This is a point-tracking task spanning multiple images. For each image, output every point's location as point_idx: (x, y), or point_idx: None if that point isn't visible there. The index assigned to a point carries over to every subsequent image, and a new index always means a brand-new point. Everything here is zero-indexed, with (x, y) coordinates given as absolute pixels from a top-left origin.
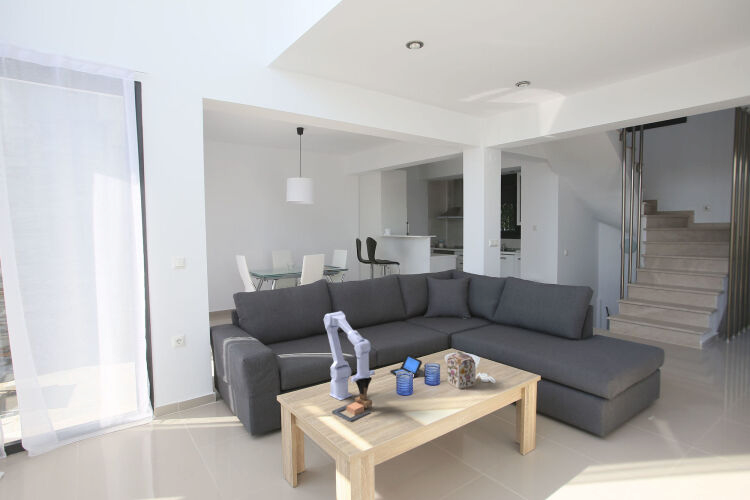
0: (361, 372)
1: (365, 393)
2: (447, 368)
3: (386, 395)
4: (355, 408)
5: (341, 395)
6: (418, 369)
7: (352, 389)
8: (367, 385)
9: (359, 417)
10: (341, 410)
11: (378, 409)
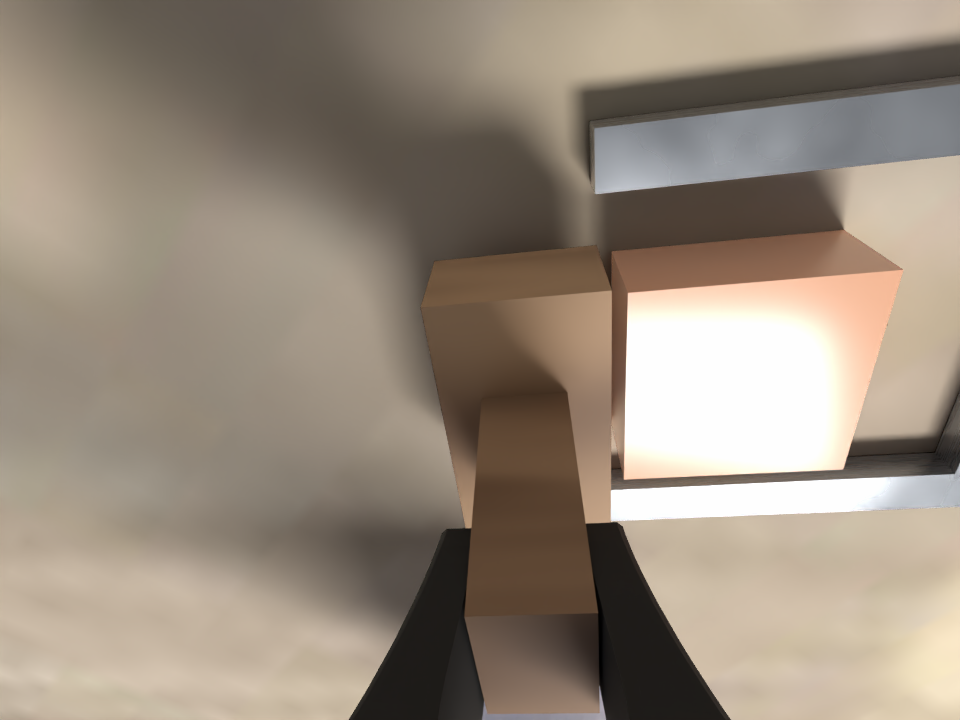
0: None
1: (520, 503)
2: None
3: (32, 428)
4: (839, 306)
5: None
6: None
7: (351, 698)
8: (427, 715)
9: (889, 84)
10: None
11: (365, 133)
